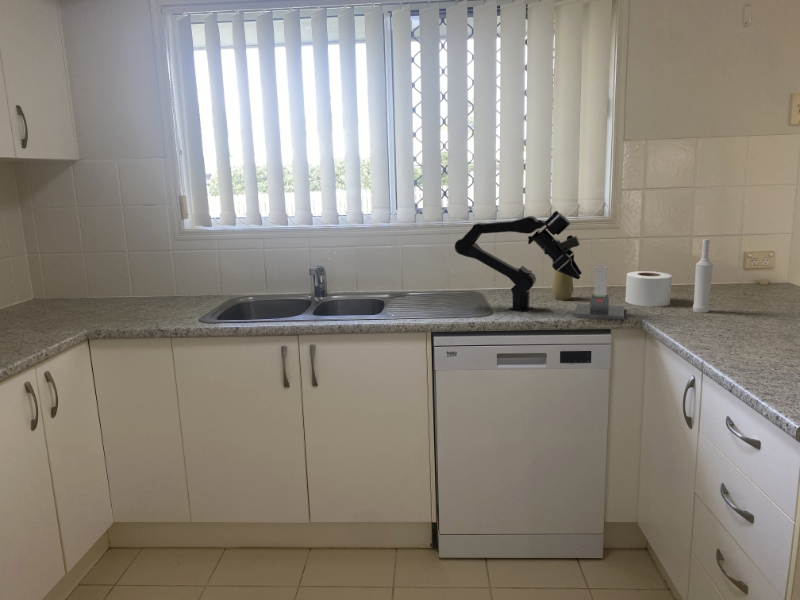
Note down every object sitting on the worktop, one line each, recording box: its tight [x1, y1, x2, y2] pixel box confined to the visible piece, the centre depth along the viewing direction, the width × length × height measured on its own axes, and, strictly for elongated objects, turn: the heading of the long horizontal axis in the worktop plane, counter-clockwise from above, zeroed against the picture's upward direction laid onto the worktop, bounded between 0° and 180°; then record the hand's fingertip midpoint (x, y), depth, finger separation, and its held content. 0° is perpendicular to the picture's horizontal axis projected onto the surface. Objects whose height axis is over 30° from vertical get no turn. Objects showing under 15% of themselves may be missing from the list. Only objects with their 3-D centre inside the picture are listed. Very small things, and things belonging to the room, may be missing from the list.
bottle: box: [692, 238, 714, 314], centre depth 199 cm, size 5×5×25 cm
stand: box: [573, 293, 625, 320], centre depth 202 cm, size 16×16×6 cm
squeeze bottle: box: [551, 268, 574, 301], centre depth 226 cm, size 8×8×18 cm
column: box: [593, 265, 608, 298], centre depth 201 cm, size 4×4×11 cm
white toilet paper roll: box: [625, 270, 673, 308], centre depth 217 cm, size 16×15×11 cm
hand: (580, 276), depth 203 cm, fingers open, 9 cm apart
